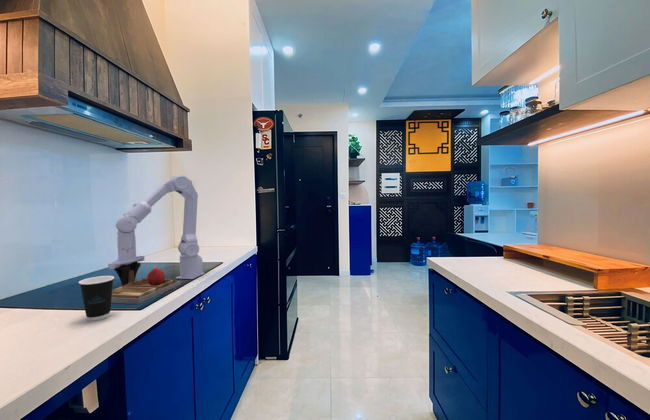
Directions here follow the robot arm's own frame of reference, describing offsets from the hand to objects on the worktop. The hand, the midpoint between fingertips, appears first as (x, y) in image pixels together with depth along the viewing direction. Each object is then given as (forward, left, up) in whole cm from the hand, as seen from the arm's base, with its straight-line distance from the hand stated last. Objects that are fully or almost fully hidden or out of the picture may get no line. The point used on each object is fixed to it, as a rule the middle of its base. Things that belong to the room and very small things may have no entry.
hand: (128, 283), depth 109 cm
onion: (0, +12, -2) cm, 12 cm away
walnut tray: (0, +8, -2) cm, 8 cm away
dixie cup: (+26, +15, -2) cm, 30 cm away
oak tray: (+10, +8, -2) cm, 13 cm away
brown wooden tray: (+5, +10, -2) cm, 11 cm away
